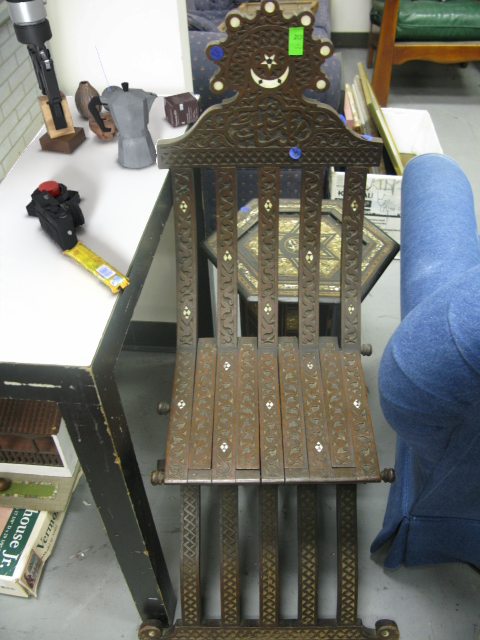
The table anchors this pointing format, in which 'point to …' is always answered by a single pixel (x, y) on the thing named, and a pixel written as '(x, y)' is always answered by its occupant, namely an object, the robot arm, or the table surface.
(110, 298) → the table surface
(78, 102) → the vase
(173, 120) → the box
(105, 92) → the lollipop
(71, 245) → the camera
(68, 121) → the tan wooden block
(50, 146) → the brown square block
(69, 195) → the button block
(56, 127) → the robot arm
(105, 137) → the artifact
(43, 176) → the table surface
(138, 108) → the coffeepot
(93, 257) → the candy bar
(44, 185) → the button
